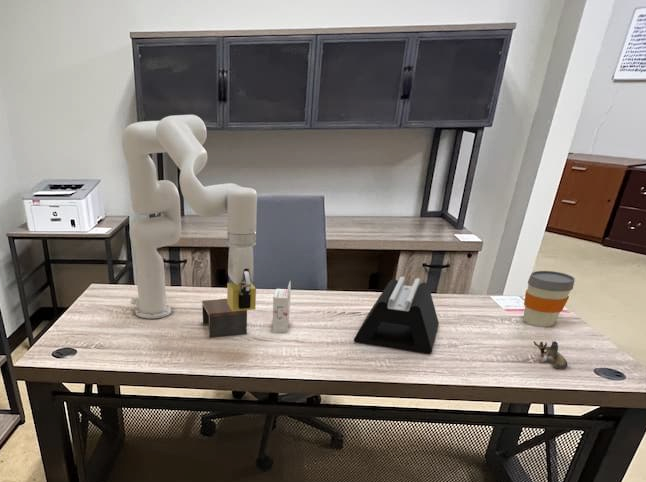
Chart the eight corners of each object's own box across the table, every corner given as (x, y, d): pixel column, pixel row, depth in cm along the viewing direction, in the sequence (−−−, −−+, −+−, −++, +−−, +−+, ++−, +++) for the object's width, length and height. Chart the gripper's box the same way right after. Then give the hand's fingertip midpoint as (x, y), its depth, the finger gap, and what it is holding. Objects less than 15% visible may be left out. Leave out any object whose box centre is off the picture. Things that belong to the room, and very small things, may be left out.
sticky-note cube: (232, 311, 145) (232, 290, 142) (227, 303, 151) (227, 282, 148) (255, 309, 147) (256, 288, 143) (249, 301, 152) (249, 281, 149)
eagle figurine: (524, 353, 151) (549, 361, 143) (539, 331, 150) (565, 338, 141) (541, 365, 154) (567, 373, 145) (557, 343, 152) (583, 351, 144)
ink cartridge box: (274, 322, 177) (276, 279, 170) (288, 323, 176) (291, 279, 169) (271, 332, 170) (273, 287, 162) (286, 333, 169) (289, 288, 162)
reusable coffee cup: (551, 331, 167) (567, 285, 159) (510, 321, 175) (523, 276, 167) (566, 321, 174) (582, 276, 166) (526, 311, 182) (539, 268, 174)
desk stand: (209, 337, 167) (209, 313, 163) (202, 323, 177) (202, 300, 173) (246, 334, 169) (247, 310, 165) (237, 320, 179) (237, 297, 175)
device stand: (438, 326, 172) (448, 281, 164) (431, 354, 154) (441, 305, 146) (367, 316, 180) (374, 273, 172) (353, 342, 162) (359, 295, 155)
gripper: (220, 232, 146) (221, 294, 155) (235, 247, 131) (235, 315, 140) (247, 230, 147) (246, 292, 156) (265, 245, 132) (262, 313, 142)
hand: (241, 303), depth 148 cm, fingers closed on sticky-note cube, 6 cm apart
